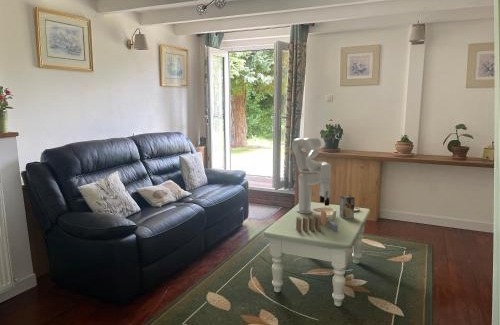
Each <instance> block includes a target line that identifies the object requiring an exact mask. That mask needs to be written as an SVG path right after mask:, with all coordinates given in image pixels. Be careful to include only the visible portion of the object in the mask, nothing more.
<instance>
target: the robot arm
mask: <svg viewBox="0 0 500 325" xmlns="http://www.w3.org/2000/svg"><path fill="white" fill-rule="evenodd" d="M321 146H322V143H321V140H320V139H319V138H318V137H302V138H300V137H299V138H294V139H293V140H292V142H291V148H292V152H293V154H294V157H295V161H296V165H297V169H298V171H299V172H300V174H299V175H298V178H297V179H298V208H297V209H296V212H297V213H300V214H306V215H307V214H312V213H313V209H311V204H312V189H311V187H310V185H311V186H312V185H318V184H319V186H318V187H319V189H318V190H319V191H318V192H319V193H318V194H319V202H320V203H324V206H325V207H326V206H327V207H328V206H330V198H331V185H330V184H331V183H332V181H331V178H332V176H331V174H332V173H331V172H332V164H331V163H328V162H326V161H316V160H314V158H316V157H317V156H318V155H319V148H321ZM304 151H305V152H304Z"/></svg>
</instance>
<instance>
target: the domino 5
mask: <svg viewBox="0 0 500 325" xmlns="http://www.w3.org/2000/svg"><path fill="white" fill-rule="evenodd" d="M320 218H321V224H322V225H323V226H325V225H327V211H325V210H320Z"/></svg>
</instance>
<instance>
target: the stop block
mask: <svg viewBox="0 0 500 325" xmlns="http://www.w3.org/2000/svg"><path fill="white" fill-rule="evenodd" d="M328 226H329V229H330V230H332V231H333V232H338V231H339V230H338V228H339V227H338V226H339V224H337V223H336V222H335V221H333V220H332V221H329V224H328Z"/></svg>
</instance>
